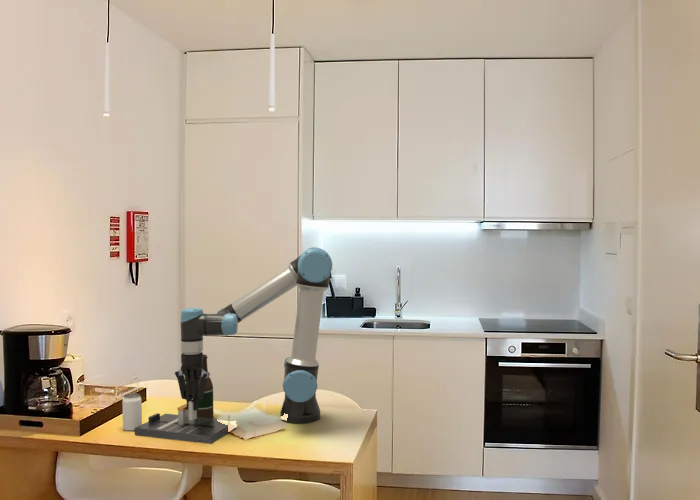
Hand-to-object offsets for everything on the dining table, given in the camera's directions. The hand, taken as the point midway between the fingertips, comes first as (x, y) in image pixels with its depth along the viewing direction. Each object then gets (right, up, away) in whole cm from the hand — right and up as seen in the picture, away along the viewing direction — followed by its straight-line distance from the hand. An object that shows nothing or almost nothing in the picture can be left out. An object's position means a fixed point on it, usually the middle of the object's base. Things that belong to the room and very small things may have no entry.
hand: (192, 419), depth 219 cm
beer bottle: (0, -4, +16) cm, 17 cm away
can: (-23, -5, +5) cm, 24 cm away
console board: (-2, -5, +1) cm, 5 cm away
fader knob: (-3, -2, +1) cm, 4 cm away
